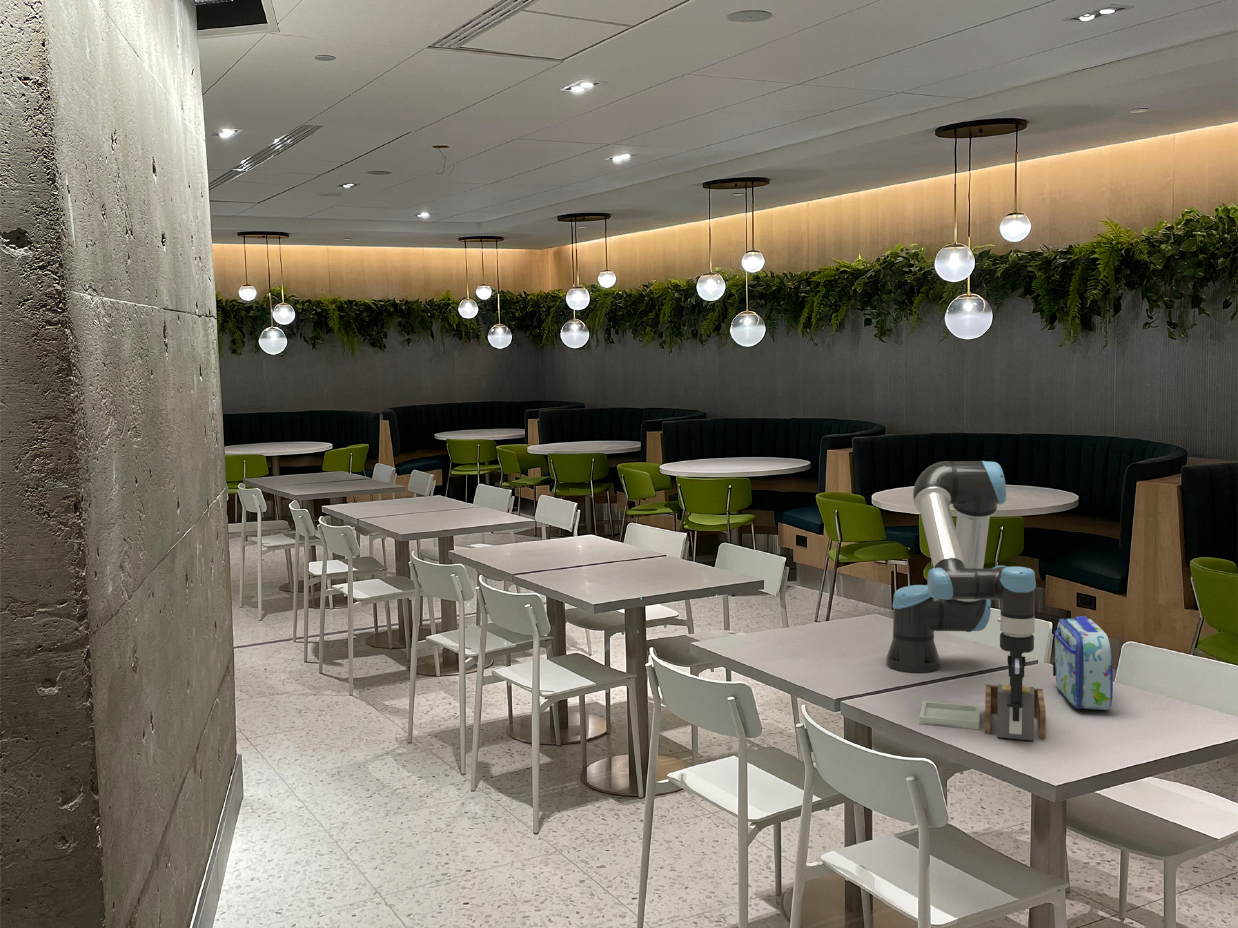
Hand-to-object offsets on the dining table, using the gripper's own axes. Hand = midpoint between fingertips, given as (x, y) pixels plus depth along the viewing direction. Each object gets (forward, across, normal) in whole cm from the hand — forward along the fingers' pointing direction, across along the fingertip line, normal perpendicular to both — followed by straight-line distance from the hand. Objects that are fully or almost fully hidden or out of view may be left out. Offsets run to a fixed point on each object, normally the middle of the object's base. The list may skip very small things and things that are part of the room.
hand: (1015, 728), depth 252 cm
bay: (+2, -9, 0) cm, 9 cm away
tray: (+2, -9, -15) cm, 18 cm away
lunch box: (+2, -34, +17) cm, 38 cm away
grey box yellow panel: (+1, 0, 0) cm, 1 cm away
